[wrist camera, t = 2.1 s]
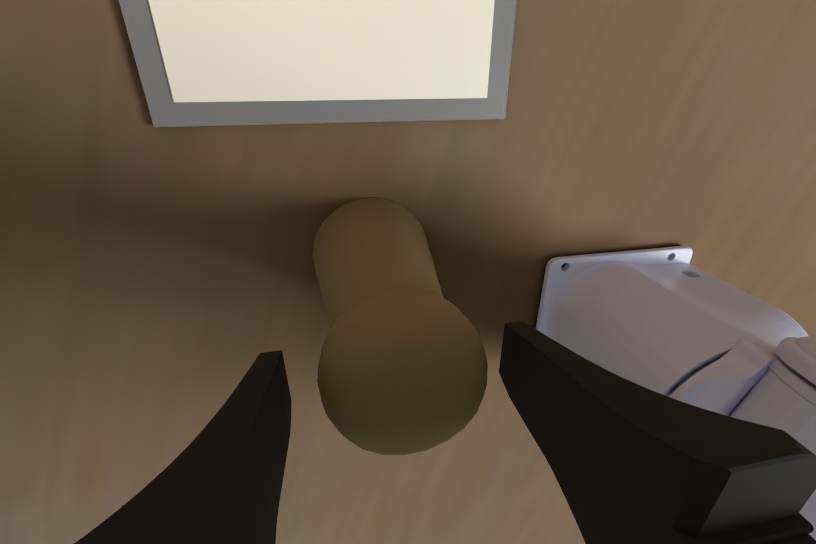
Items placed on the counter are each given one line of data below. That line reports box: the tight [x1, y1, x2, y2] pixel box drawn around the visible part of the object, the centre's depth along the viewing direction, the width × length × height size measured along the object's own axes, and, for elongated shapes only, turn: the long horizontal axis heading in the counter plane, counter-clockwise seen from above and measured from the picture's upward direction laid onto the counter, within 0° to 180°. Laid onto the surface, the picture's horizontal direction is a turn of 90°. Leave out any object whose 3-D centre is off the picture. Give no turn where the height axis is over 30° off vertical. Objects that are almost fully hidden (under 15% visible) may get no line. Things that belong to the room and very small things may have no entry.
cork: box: [312, 197, 487, 455], centre depth 15 cm, size 6×6×11 cm
